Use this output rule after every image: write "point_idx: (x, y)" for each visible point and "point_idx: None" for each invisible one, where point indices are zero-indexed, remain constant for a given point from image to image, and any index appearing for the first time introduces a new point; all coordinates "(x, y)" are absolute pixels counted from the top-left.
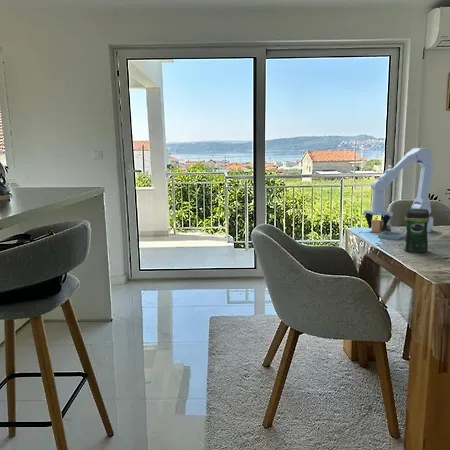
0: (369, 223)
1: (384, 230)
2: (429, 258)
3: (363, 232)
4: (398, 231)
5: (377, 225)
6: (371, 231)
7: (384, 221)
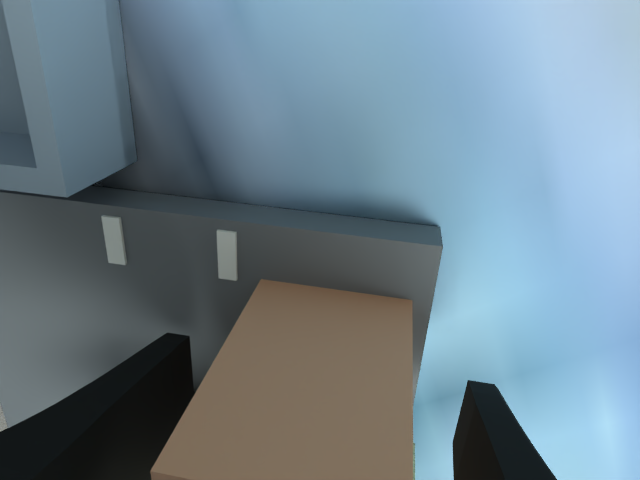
0: (498, 461)
1: None
2: None
3: (588, 352)
4: None
5: (263, 381)
6: (425, 327)
7: (8, 455)
